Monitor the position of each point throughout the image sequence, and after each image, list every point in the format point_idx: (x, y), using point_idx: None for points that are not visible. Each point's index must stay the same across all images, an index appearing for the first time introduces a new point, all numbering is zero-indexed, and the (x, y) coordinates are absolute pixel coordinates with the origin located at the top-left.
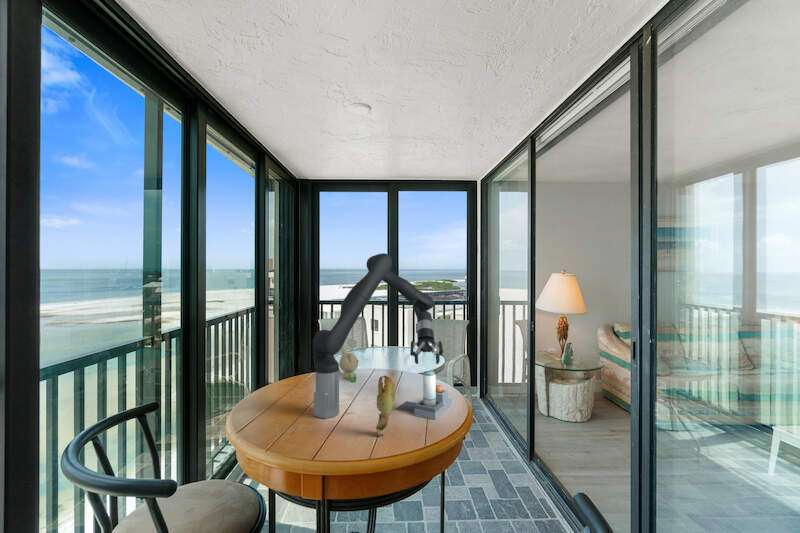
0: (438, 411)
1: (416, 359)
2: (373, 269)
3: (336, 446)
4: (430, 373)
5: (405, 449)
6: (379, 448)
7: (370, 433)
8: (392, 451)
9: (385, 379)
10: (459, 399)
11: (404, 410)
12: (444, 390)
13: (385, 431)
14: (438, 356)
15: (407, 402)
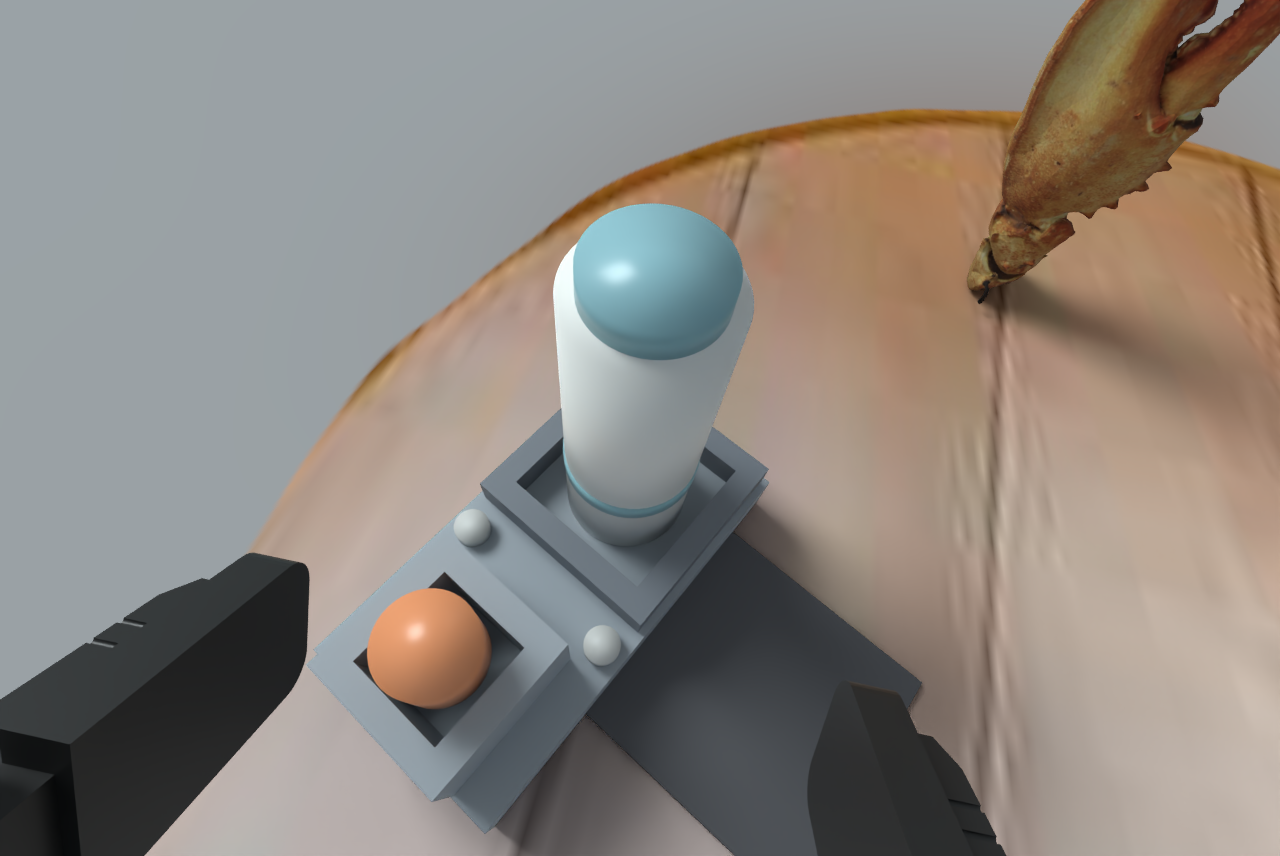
0: None
1: (918, 752)
2: None
3: (1190, 235)
4: (658, 205)
5: (853, 146)
6: (975, 178)
7: (1051, 314)
8: (912, 146)
9: None
10: None
11: (833, 614)
12: (345, 680)
13: (971, 265)
14: (55, 693)
15: (785, 853)
